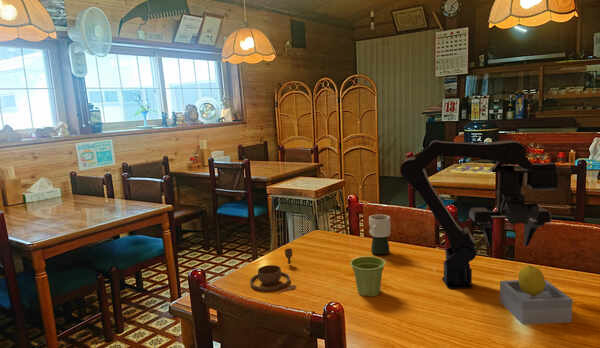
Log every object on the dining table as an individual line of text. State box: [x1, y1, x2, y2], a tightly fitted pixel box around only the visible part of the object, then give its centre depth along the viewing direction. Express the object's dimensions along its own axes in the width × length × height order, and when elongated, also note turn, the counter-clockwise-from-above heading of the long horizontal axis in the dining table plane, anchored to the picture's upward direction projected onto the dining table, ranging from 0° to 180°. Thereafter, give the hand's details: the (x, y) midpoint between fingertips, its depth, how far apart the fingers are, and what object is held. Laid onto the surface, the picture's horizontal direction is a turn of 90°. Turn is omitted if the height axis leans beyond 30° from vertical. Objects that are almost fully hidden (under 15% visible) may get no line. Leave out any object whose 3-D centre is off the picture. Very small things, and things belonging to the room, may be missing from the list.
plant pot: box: [350, 255, 386, 297], centre depth 112 cm, size 9×9×9 cm
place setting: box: [249, 248, 296, 295], centre depth 125 cm, size 18×20×6 cm
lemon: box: [517, 264, 546, 297], centre depth 97 cm, size 6×6×8 cm
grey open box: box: [499, 279, 573, 325], centre depth 97 cm, size 11×11×6 cm
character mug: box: [368, 214, 391, 255], centre depth 141 cm, size 11×7×13 cm, turn 148°
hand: (507, 246), depth 109 cm, fingers open, 9 cm apart
